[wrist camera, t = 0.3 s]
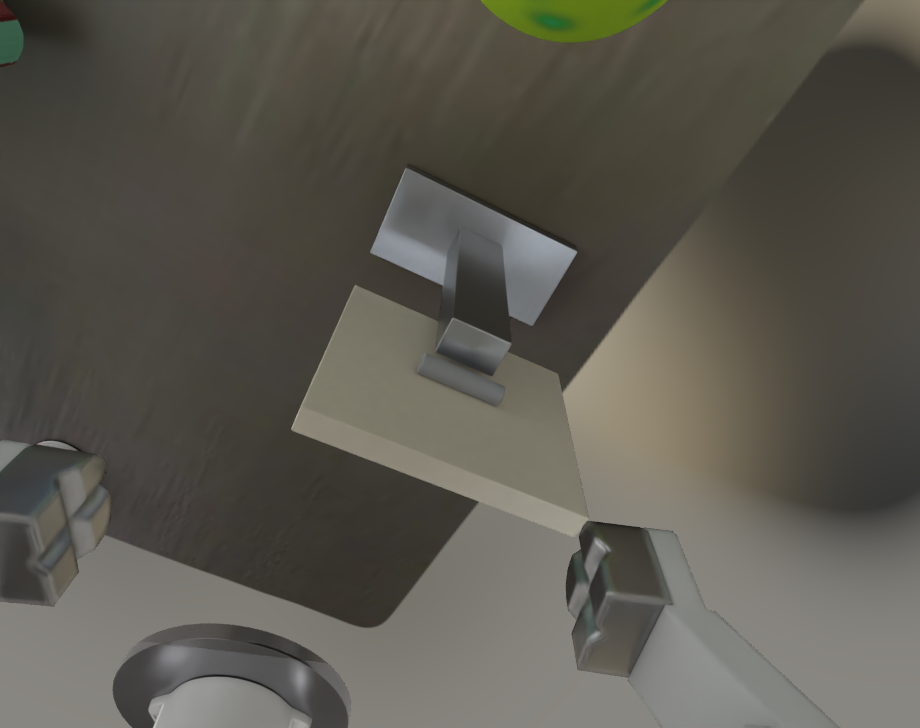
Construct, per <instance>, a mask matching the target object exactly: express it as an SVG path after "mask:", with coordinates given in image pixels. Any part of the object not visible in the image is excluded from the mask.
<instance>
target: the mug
mask: <svg viewBox="0 0 920 728" xmlns="http://www.w3.org/2000/svg"><path fill="white" fill-rule="evenodd" d="M23 43H24V39H23V32H22V29H21V26H20V24H19V22H18V20H17V18H16V17H15V15H14V14H13V13H12V12H11V11H10V9H9V8H8V7H7V6H6V4H5V3H4V2H3V1H2V0H0V67H3V66H7V65H11V64H14V63H15V62H16V61H17V60H18V58H19V57H20V55H21V53H22V50H23Z"/></svg>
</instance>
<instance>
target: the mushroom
mask: <svg viewBox="0 0 920 728" xmlns="http://www.w3.org/2000/svg"><path fill="white" fill-rule="evenodd" d="M480 1H481V2H482V3H483V4H484V5H485V6H486V7H487V8H488V9H489V10H490V11H491V12H493V13H494V14H495V15H496V16H497V17H498V18H500V19H501V20H503V21H504V22H505V23H507V24H508V25H510V26H512V27H514V28H515V29H517V30H519V31H521V32H523V33H526V34H528V35H531V36H534V37H537V38H540V39H544V40H549V41H555V42H572V43H574V42H586V41H592V40H597V39H601V38H604V37H608V36H611V35H613V34H616V33H619V32H621V31H623V30H625V29H627V28H629V27H631V26H633V25H635V24H636V23H638V22H640V21H642V20H643V19H645V18H646V17H648V16H649V15H650V14H652V13H653V12H655V11H656V10H657V9H658V8H659V7H661V6H662V5H663V4H664V3H665V2H666V1H667V0H480Z"/></svg>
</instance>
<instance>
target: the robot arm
mask: <svg viewBox="0 0 920 728" xmlns="http://www.w3.org/2000/svg"><path fill="white" fill-rule="evenodd" d="M105 474H106V469H105V464H104V460H103V457H101V456H99V455H97V454H93V453H87V452H81V451H74V450H68V449H62V448H56V447H49V446H43V445H37V444H35V445H32V444H26V443H20V442H14V441H8V440H2V441H0V602H10V603H22V604H31V605H32V604H33V605H42V606H55V604H56V603H57V602H58V600H59V599H60V597H61V596H62V594H63V593H64V592H65V590H66V589H67V587H68V586H69V585H70V583H71V582H72V581H73V579H74V578H75V577H76V575H77V574H78V572H79V570H78V564H77V559H79V558H81V557H83V556H84V555H86V554H88V553H90V552H92V551H94V550H95V548H96V547H97V546H98V544H99V543H100V541H101V540H102V538H103V537H104V535H105V532H106V530H107V527H108V524H109V522H110V519H111V509H112V503H111V496H110V493H109V492H108V491H107V490H106V489H105V488H104V487H103V486H102V485H101V484H100V483H99V482H100V481H101V479H102V478H103V477H104V476H105ZM579 540H580V546H581V549H580V550H579V551H578V552H576V553H574V554H573V555H572V557H571V560H570V564H569V567H568V572H567V579H566V599H567V606H568V611H569V612H570V613H571V614H572V615H573V617H574V618H575V619H576V620H577V621H576V623H575V626H574V629H573V631H572V639H573V645H574V651H575V657H576V663H577V669H578V670H581V671H588V672H594V673H601V674H608V675H615V676H621V677H628V682H629V683H630V684H631V686H632V687H633V689H634V690H635V691H636V693H637V694H638V696H639V697H640V699H641V700H642V701H643V703H644V704H645V705H646V707H647V708H648V710H649V711H650V712H651V714H652V716H653V717H654V718H655V720H656V721H657V723H658V724H659V726H660V727H661V728H840V727H839V726H838V725H837V724H836V723H834V722H833V721H832V720H831V719H830V718H829V717H828V716H827V715H826V714H825V713H824V712H823V711H822V710H820V709H819V708H818V707H817V706H816V705H815V704H814V703H813V702H812V701H811V700H810V699H809V698H808V697H807V696H805V694H803V693H802V692H801V691H800V690H799V689H798V688H797V687H796V686H795V685H794V684H793V683H792V682H791V681H789V680H788V679H787V678H786V677H785V676H784V675H783V674H782V673H781V672H780V671H779V670H778V669H777V668H776V667H775V666H773V665H772V664H771V663H770V662H769V661H768V660H767V659H766V658H765V657H764V656H763V655H762V654H761V653H759V652H758V651H757V650H756V649H755V648H754V647H753V646H752V645H751V644H750V643H749V642H748V641H747V640H746V639H744V638H743V637H742V636H741V635H740V634H739V633H738V632H737V631H736V630H735V629H734V628H733V627H732V626H731V625H729V624H728V623H727V622H726V621H725V620H724V619H723V618H722V617H721V616H720V615H719V614H718V613H717V612H715V611H709V610H707V609H706V607H705V604H704V602H703V599H702V597H701V594H700V592H699V590H698V588H697V584H696V582H695V580H694V577H693V574H692V572H691V570H690V567H689V565H688V562H687V560H686V557H685V554H684V552H683V549H682V547H681V544H680V542H679V539H678V537H677V535H676V534H675V533H674V532H673V531H668V530H659V529H651V528H640V527H632V526H625V525H617V524H609V523H601V522H594V521H586V523H585V524H584V525H583V527H582V530H581V532H580V535H579ZM148 711H149V713H150V715H151V717H152V718H153V720H154V722H155V724H154V727H153V728H310V726H311V723H312V719H311V717H309V716H308V715H306V714H305V713H303V712H301V711H299V710H296V709H294V708H292V707H291V706H290V705H289V704H287V703H286V702H285V701H284V700H283V699H282V698H281V697H280V696H279V695H277V694H276V693H274V692H273V691H271V690H269V689H267V688H265V687H263V686H261V685H258V684H256V683H253V682H250V681H246V680H242V679H237V678H231V677H203V678H197V679H193V680H190V681H188V682H185V683H183V684H182V685H180V686H179V687H177V688H176V689H175V690H174V691H172V692H171V693H169V694H166V695H162V696H158V697H155V698H153V699H152V700H151V702H150V705H149V708H148Z"/></svg>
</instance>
